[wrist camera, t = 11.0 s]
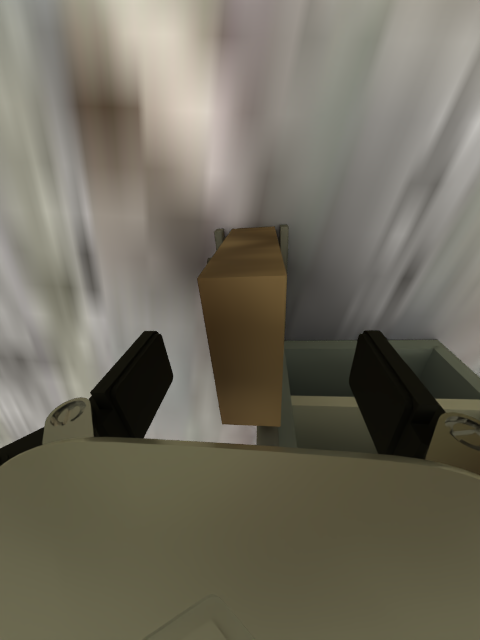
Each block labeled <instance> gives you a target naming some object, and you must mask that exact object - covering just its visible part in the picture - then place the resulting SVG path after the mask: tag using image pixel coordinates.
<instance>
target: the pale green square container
mask: <svg viewBox="0 0 480 640" xmlns="http://www.w3.org/2000/svg"><path fill="white" fill-rule="evenodd" d="M288 229H289V227H288V225H280V250H281V254H282V258H283V262H284V266H285V270H286V274H287V258H288ZM214 234H215V242H216V250H218V248H219V247H220V246H221V244H222V243H223V241H224V240H225V237H224V229H216V230H215V231H214ZM286 287H287V286H286ZM285 316H286V309H285ZM388 342H389V343H390V344H391V345H392V347H393V348H394V349H395V350H396V352H397V353H398V354H399V355H400V357H401V358H402V359H403V360H404V362H406V363H407V364H408V366H409V367H410V368H411V369H412V371H413V372H414V373H415V374H416V376H417V377H418V378H419V379H420V381H421V382H422V383H423V384H424V386H425V387H426V388H427V389H428V391H429V392H430V393H431V394H432V396H433V397H434V398H435V399H436V401H437V402H438V403H439V404H440V406H441V407H442V408H443V409H444V411H445V412H446V413H447V412H456V413H461V414H465V415H468V416H470V417H473V418H475V419H477V420H479V421H480V377H478V376H477V375H476V374H475V373H474V372H473V371H472V370H471V369H470V368H468V367H467V366H466V365H465V364H464V363H463V362H462V361H461V360H459V359H458V358H457V357H456V356H455V355H454V354H453V353H452V352H451V351H449V350H448V349H447V348H446V347H445V346H444V345H443V344H442V343H440V342H439V341H438V340H388ZM356 345H357V340H320V341H284V356H283V379H282V402H281V426H280V427H277V426H257V445H261V446H277V447H291V448H306V449H320V450H335V451H349V452H360V453H372V454H378V452H377V450H376V448H375V445H374V443H373V440H372V438H371V436H370V433H369V431H368V429H367V426H366V424H365V421H364V419H363V417H362V414H361V412H360V409H359V407H358V405H357V402H356V400H355V397H354V395H353V393H352V390H351V388H350V385H349V376H350V371H351V367H352V363H353V358H354V354H355V349H356Z"/></svg>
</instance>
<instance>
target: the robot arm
mask: <svg viewBox="0 0 480 640" xmlns="http://www.w3.org/2000/svg"><path fill="white" fill-rule="evenodd" d="M172 380H173V373H172V369H171V366H170V362H169V359H168V355H167V352H166V349H165V345H164V342H163V338H162V335H161V334H159V333H158V332H157V331H144V332H143V333H142V334H141V335H140V337H139V338H138V339H137V340H136V341H135V342H134V343H133V345H132V346H131V347H130V348H129V349H128V350H127V351H126V352H125V354H124V355H123V356H122V357H121V358H120V359H119V360H118V362H117V363H116V364H115V365H114V366H113V367H112V368H111V369H110V371H109V372H108V373H107V374H106V375H105V376H104V377H103V378H102V380H101V381H100V382H99V383H98V384H97V385H96V386H95V388H94V389H93V390H92V391H91V392H90V393H91V395H92V396H91V397H90V398H89V400H88V399H87V398H82V397H80V398H74V399H71V400H68V401H66V402H64V403H62V404H61V405H59V406H58V407H56V408H55V409H54V410H53V411H52V412H51V413H50V414H49V416H48V417H47V418H46V421H45V426H44V427H43V428H41V429H39V430H37V431H35V432H33V433H31V434H29V435H27V436H25V437H23V438H21V439H19V440H17V441H15V442H13V443H11V444H9V445H6V446H4V447H2V448H0V640H480V421H479V420H477V419H475V418H473V417H470V416H468V415H465V414H461V413H456V412H447V413H446V412H445V411H444V409H443V408H442V407H441V406H440V404H439V403H438V402H437V401H436V399H435V398H434V397H433V396H432V394H431V393H430V392H429V391H428V389H427V388H426V387H425V386H424V384H423V383H422V382H421V381H420V379H419V378H418V377H417V376H416V374H415V373H414V372H413V371H412V369H411V368H410V367H409V366H408V364H407V363H406V362H404V360H403V359H402V358H401V357H400V355H399V354H398V353H397V352H396V350H395V349H394V348H393V347H392V345H391V344H390V343H389V342H388V340H387V339H386V338H385V337H384V335H383V334H382V333H381V332H380V331H364V332H363V334H359V336H358V340H357V345H356V349H355V354H354V358H353V363H352V367H351V371H350V376H349V385H350V388H351V390H352V393H353V395H354V397H355V400H356V402H357V405H358V407H359V409H360V412H361V414H362V417H363V419H364V421H365V424H366V426H367V429H368V431H369V433H370V436H371V438H372V440H373V443H374V445H375V448H376V450H377V452H378V454H372V453H360V452H349V451H335V450H320V449H306V448H291V447H277V446H261V445H245V444H229V443H213V442H197V441H180V440H162V439H145V438H144V436H145V434H146V432H147V430H148V428H149V426H150V424H151V422H152V420H153V418H154V416H155V414H156V412H157V410H158V408H159V406H160V404H161V402H162V400H163V399H164V397H165V395H166V393H167V391H168V389H169V387H170V385H171V383H172Z"/></svg>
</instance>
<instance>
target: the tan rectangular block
mask: <svg viewBox="0 0 480 640" xmlns="http://www.w3.org/2000/svg"><path fill="white" fill-rule="evenodd" d="M197 280H198V286H199V292H200V298H201V304H202V309H203V315H204V321H205V327H206V333H207V338H208V344H209V350H210V356H211V362H212V368H213V373H214V379H215V385H216V391H217V397H218V402H219V408H220V414H221V420H222V424H230V425H253V426H277V427H280V426H281V402H282V379H283V356H284V332H285V309H286V286H287V274H286V270H285V266H284V262H283V258H282V254H281V250H280V246H279V242H278V238H277V234H276V230H275V226H273V227H256V228H238V229H232V230H231V231H230V233H229V234H228V236H227V237H226V238H225V240H224V241H223V243H222V244H221V246H220V247H219V248H218V250H217V251H216V253H215V254H214V255H213V257H212V258H208V260H207V265H206V267H205V268H204V270H203V271H202V272H201V274H200V275H199V277H198V278H197Z"/></svg>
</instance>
